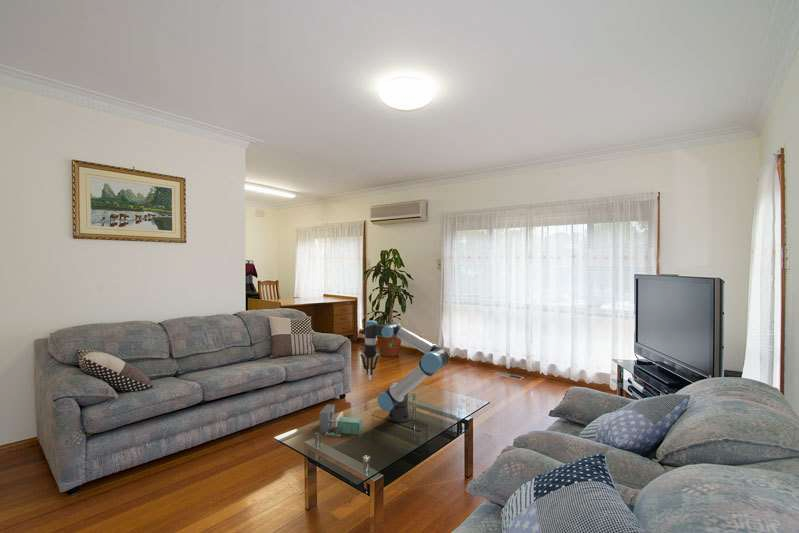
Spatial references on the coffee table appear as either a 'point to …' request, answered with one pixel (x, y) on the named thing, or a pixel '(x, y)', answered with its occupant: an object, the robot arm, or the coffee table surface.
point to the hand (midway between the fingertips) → (369, 379)
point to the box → (349, 425)
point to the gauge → (327, 420)
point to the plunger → (336, 422)
